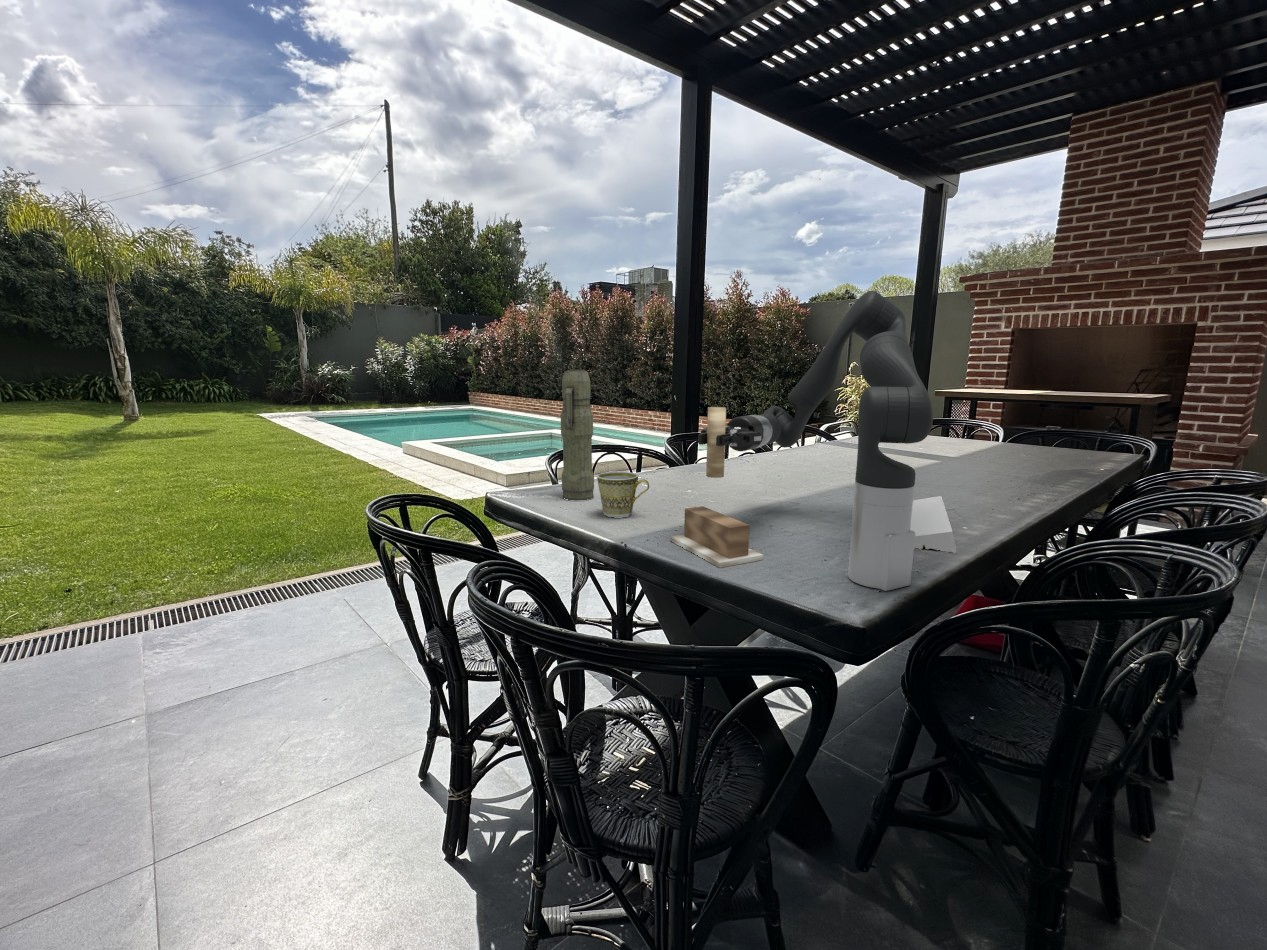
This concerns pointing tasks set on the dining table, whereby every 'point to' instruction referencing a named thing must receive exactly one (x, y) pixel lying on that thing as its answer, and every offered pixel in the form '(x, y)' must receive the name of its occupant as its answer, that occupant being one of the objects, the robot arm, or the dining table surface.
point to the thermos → (577, 436)
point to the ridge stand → (716, 538)
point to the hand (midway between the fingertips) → (709, 440)
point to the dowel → (715, 452)
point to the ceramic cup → (618, 492)
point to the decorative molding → (932, 525)
